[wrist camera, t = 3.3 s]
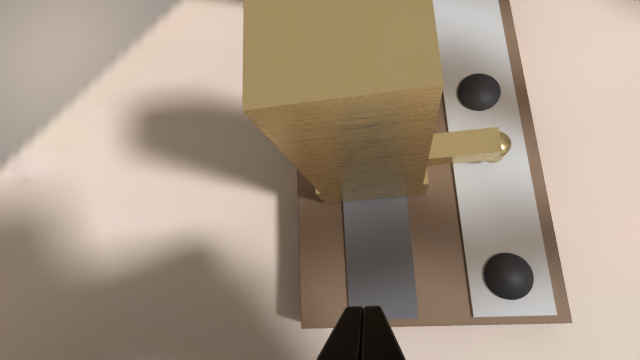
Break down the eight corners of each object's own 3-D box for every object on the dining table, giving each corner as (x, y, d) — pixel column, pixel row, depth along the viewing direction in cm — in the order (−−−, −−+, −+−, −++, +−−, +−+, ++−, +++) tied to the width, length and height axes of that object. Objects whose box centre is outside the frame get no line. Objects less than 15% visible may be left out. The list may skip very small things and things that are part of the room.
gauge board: (557, 319, 16) (881, 399, 5) (309, 324, 18) (166, 391, 7) (485, -63, 21) (573, -429, 10) (298, -27, 23) (204, -301, 12)
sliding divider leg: (507, 188, 16) (657, 56, 7) (325, 203, 18) (233, 111, 8) (496, 121, 17) (615, -83, 7) (322, 140, 18) (235, -11, 9)
